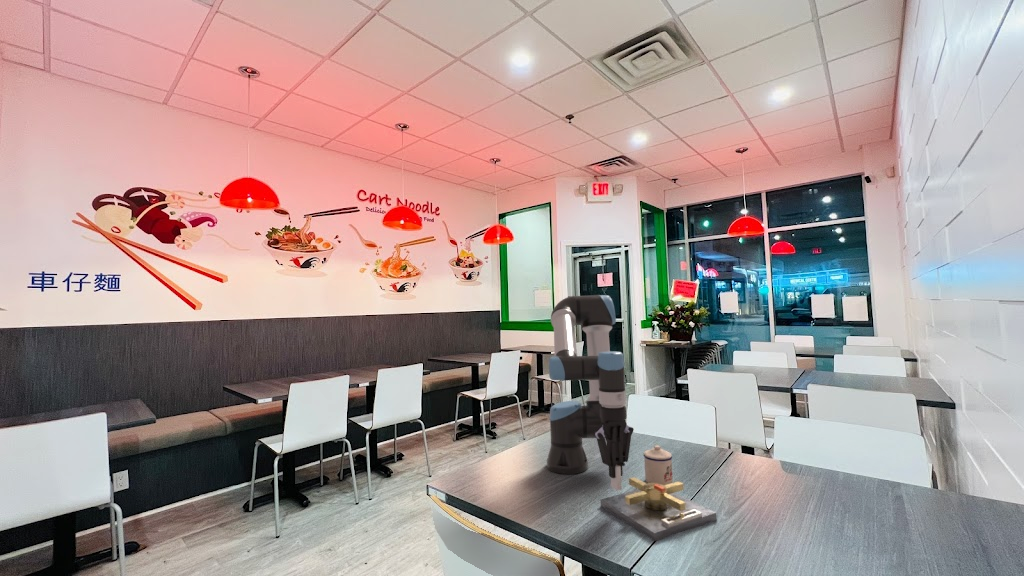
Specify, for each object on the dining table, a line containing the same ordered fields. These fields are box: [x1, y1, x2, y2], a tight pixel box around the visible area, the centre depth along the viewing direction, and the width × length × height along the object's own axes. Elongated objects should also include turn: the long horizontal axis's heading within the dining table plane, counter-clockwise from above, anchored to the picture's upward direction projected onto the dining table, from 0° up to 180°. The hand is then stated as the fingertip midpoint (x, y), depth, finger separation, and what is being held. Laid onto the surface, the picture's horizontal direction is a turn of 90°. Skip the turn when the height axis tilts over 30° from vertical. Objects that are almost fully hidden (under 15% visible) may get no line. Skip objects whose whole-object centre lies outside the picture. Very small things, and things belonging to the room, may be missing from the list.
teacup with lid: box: [643, 445, 674, 485], centre depth 146 cm, size 12×9×12 cm
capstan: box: [625, 476, 686, 511], centre depth 123 cm, size 20×20×6 cm
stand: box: [600, 489, 717, 542], centre depth 122 cm, size 22×22×4 cm
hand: (616, 488), depth 124 cm, fingers closed
